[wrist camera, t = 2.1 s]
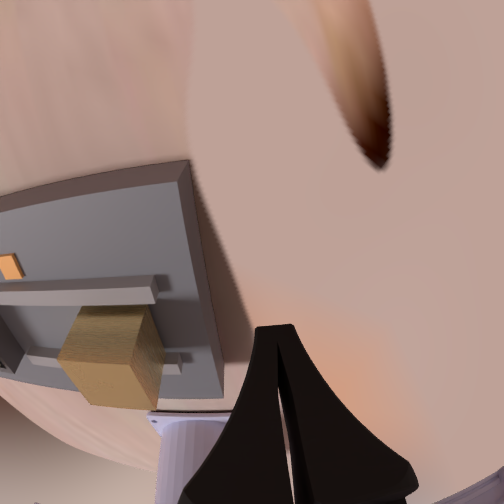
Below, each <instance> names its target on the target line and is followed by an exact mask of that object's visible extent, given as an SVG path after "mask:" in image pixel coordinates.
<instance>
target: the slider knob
mask: <svg viewBox="0 0 504 504" xmlns="http://www.w3.org/2000/svg"><path fill="white" fill-rule="evenodd" d="M165 356H166V352H165V349H164V347H163V344H162V342H161V339H160V337H159V334H158V331H157V329H156V326H155V323H154V321H153V318H152V315H151V312H150V310H149V307H148V304H137V305H97V306H82V307H81V309H80V311H79V313H78V315H77V317H76V319H75V321H74V323H73V325H72V327H71V329H70V331H69V333H68V335H67V337H66V340H65V342H64V344H63V346H62V348H61V351H60V353H59V355H58V357H57V361H58V363H59V364H60V366H61V367H62V368H63V370H64V371H65V373H66V374H67V375H68V377H69V378H70V379H71V381H72V382H73V383H74V385H75V386H76V387H77V388H78V390H79V391H80V392H81V393H82V395H83V396H84V397H85V398H86V400H87V401H88V402H89V403H90V404H91V405H97V406H106V407H115V408H126V409H138V410H154V411H156V408H157V402H158V396H159V390H160V384H161V378H162V373H163V367H164V362H165Z"/></svg>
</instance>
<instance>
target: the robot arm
mask: <svg viewBox="0 0 504 504" xmlns="http://www.w3.org/2000/svg"><path fill="white" fill-rule="evenodd" d="M278 389H279V394H280V399H281V403H282V408H283V413H284V418H285V422H286V427H287V432H288V438H289V445H290V455H291V465H292V475H293V486H294V499H295V504H407V503H406V499H405V497H406V496H408V495H409V494H411V493H412V492H414V491H415V490H417V489H418V487H419V484H418V480H417V477H416V475H415V473H414V470H413V468H412V466H411V465H410V463H409V462H408V461H407V460H405V459H404V458H403V457H401V456H400V455H398V454H397V453H396V452H394V451H393V450H392V449H390V448H389V447H388V446H387V445H385V444H384V443H383V442H382V441H380V440H379V439H378V438H377V437H376V436H374V435H373V434H372V433H371V432H370V431H369V430H368V429H367V428H366V427H365V426H364V425H363V424H362V423H361V422H360V421H359V420H357V418H356V417H355V416H354V415H353V414H352V413H351V412H350V411H349V410H348V409H347V408H346V407H345V405H344V404H343V403H342V402H341V401H340V400H339V398H338V397H337V396H336V395H335V393H334V392H333V391H332V390H331V388H330V387H329V385H328V384H327V383H326V381H325V380H324V379H323V377H322V376H321V374H320V373H319V371H318V370H317V368H316V367H315V365H314V363H313V362H312V360H311V359H310V357H309V355H308V354H307V352H306V350H305V348H304V346H303V344H302V343H301V341H300V339H299V336H298V334H297V332H296V330H295V327H294V325H292V324H283V325H272V326H260V327H257V328H255V337H254V345H253V351H252V355H251V360H250V363H249V367H248V370H247V374H246V377H245V380H244V383H243V386H242V388H241V391H240V394H239V397H238V399H237V401H236V404H235V406H234V408H233V411H232V413H162V412H148V413H147V416H146V417H147V419H148V420H149V422H150V423H151V424H152V426H153V427H154V429H155V430H156V431H157V433H158V434H159V435H160V437H161V446H160V454H159V463H158V473H157V483H156V494H155V504H294V502H293V496H292V490H291V484H290V477H289V471H288V464H287V457H286V450H285V443H284V436H283V429H282V422H281V414H280V406H279V399H278ZM34 504H39V503H34ZM433 504H504V466H503V467H502V468H500V469H499V470H498V471H497V472H495V473H493V474H492V475H490V476H488V477H486V478H485V479H483V480H481V481H479V482H477V483H475V484H474V485H472V486H470V487H468V488H466V489H464V490H462V491H460V492H458V493H455V494H453V495H451V496H449V497H447V498H445V499H442V500H440V501H438V502H436V503H433Z"/></svg>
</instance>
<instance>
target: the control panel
mask: <svg viewBox="0 0 504 504" xmlns="http://www.w3.org/2000/svg"><path fill="white" fill-rule="evenodd" d="M137 304H148V307H149V310H150V312H151V315H152V318H153V321H154V323H155V326H156V329H157V331H158V334H159V337H160V339H161V342H162V344H163V347H164V349H165V352H166V356H165V362H164V367H163V373H162V378H161V384H160V390H159V396H158V398H165V399H218V398H224V360H223V355H222V351H221V346H220V341H219V336H218V331H217V326H216V321H215V316H214V311H213V306H212V300H211V295H210V290H209V284H208V279H207V273H206V268H205V262H204V256H203V250H202V244H201V238H200V232H199V226H198V220H197V213H196V207H195V200H194V194H193V187H192V180H191V173H190V166H189V160H184V161H176V162H168V163H161V164H153V165H147V166H140V167H134V168H128V169H122V170H116V171H110V172H105V173H99V174H94V175H89V176H84V177H79V178H74V179H69V180H65V181H60V182H56V183H52V184H47V185H43V186H39V187H35V188H31V189H27V190H23V191H20V192H16V193H12V194H9V195H5V196H2V197H0V364H1V366H0V377H2V378H7V379H11V380H15V381H20V382H25V383H30V384H35V385H40V386H45V387H51V388H57V389H64V390H70V391H78V392H80V391H79V390H78V388H77V387H76V386H75V385H74V383H73V382H72V381H71V379H70V378H69V377H68V375H67V374H66V373H65V371H64V370H63V368H62V367H61V366H60V364H59V363H58V361H57V357H58V355H59V353H60V351H61V348H62V346H63V344H64V342H65V340H66V337H67V335H68V333H69V331H70V329H71V327H72V325H73V323H74V321H75V319H76V317H77V315H78V313H79V311H80V309H81V307H82V306H97V305H137Z"/></svg>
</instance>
